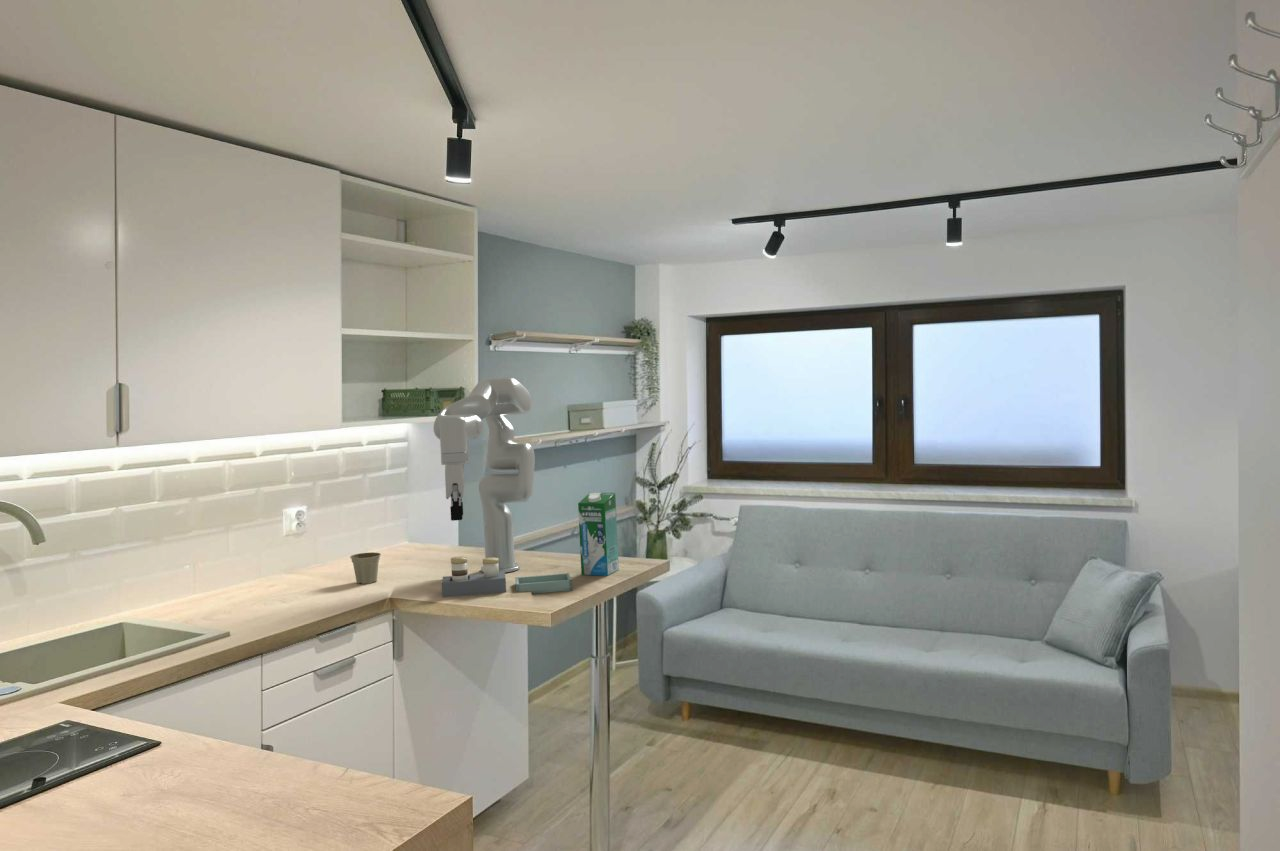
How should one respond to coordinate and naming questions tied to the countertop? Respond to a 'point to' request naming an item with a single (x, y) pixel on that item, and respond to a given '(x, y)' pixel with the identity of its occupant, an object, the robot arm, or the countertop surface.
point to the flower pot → (366, 567)
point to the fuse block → (477, 581)
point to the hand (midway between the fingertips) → (457, 517)
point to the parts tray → (544, 583)
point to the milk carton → (598, 534)
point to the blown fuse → (459, 568)
